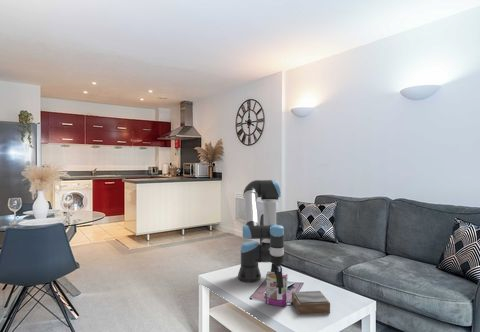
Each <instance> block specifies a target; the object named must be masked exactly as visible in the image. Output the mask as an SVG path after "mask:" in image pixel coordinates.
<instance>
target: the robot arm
mask: <svg viewBox="0 0 480 332" xmlns="http://www.w3.org/2000/svg"><path fill="white" fill-rule="evenodd" d="M242 195H243V199H244V206H245V207H244V211H245V213H244V214H245V218H244V219H245V225H243V226H242V238H243V239H245V240H246V239H247V240H251V241H246V242H243V243H242V244H241V245H240V267H239V269H238V274H237V279H238V280H239V281H241V282H243V283H256V282H259V281H260V280H261V279H262V274H261V271H260V268H259V264H260V263H271V267H270V272H275V275H276V280H277V286H276V288H277V300H282V288H283V287H284V286H283V277H282V273H283V267H282V266H281V264H283V263H284V262H285V261H284V259H285V255H284V254H285V247H284V246H285V245H284V244H285V242H284V241H285V228H284V226H283V225H281V224H277V202H279V198H281V196H282V195H281V187H280V183H279V181H278V180H274V179H269V180H268V179H262V180H261V179H260V180H259V179H255V180H252V181H251V182H249V183H248V184H247V185H246V186H245V188H244V189H243V194H242ZM258 198H260V200H261V202H262V203H263V209H262V210H263V225H259V216H258ZM259 239H260V240H261V243H259V242H258V241H256V240H259Z"/></svg>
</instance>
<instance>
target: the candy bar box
mask: <svg viewBox="0 0 480 332" xmlns="http://www.w3.org/2000/svg"><path fill="white" fill-rule="evenodd" d="M282 277H283V286H284V287H283V288H282V300H277V288H276V286H277V280H276V275H275V272H271V271H269V270H268V271H267V273H266V274H265V305H272V306H276V307H277V306H278V307H285V308H286V307H287V305H288V278H289V277H288V273H285V272H282Z"/></svg>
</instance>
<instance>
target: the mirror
mask: <svg viewBox="0 0 480 332" xmlns="http://www.w3.org/2000/svg"><path fill="white" fill-rule="evenodd" d="M291 302H292V304H293V306H294V308H295V309H296V312H297V313H298V314H299V315H314V314H330V313H331V302H330V301H329V300H328V298H327V297H326V296H325V295H324V294H323V293H322V292H321V290H309V291H293V292H291Z"/></svg>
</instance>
